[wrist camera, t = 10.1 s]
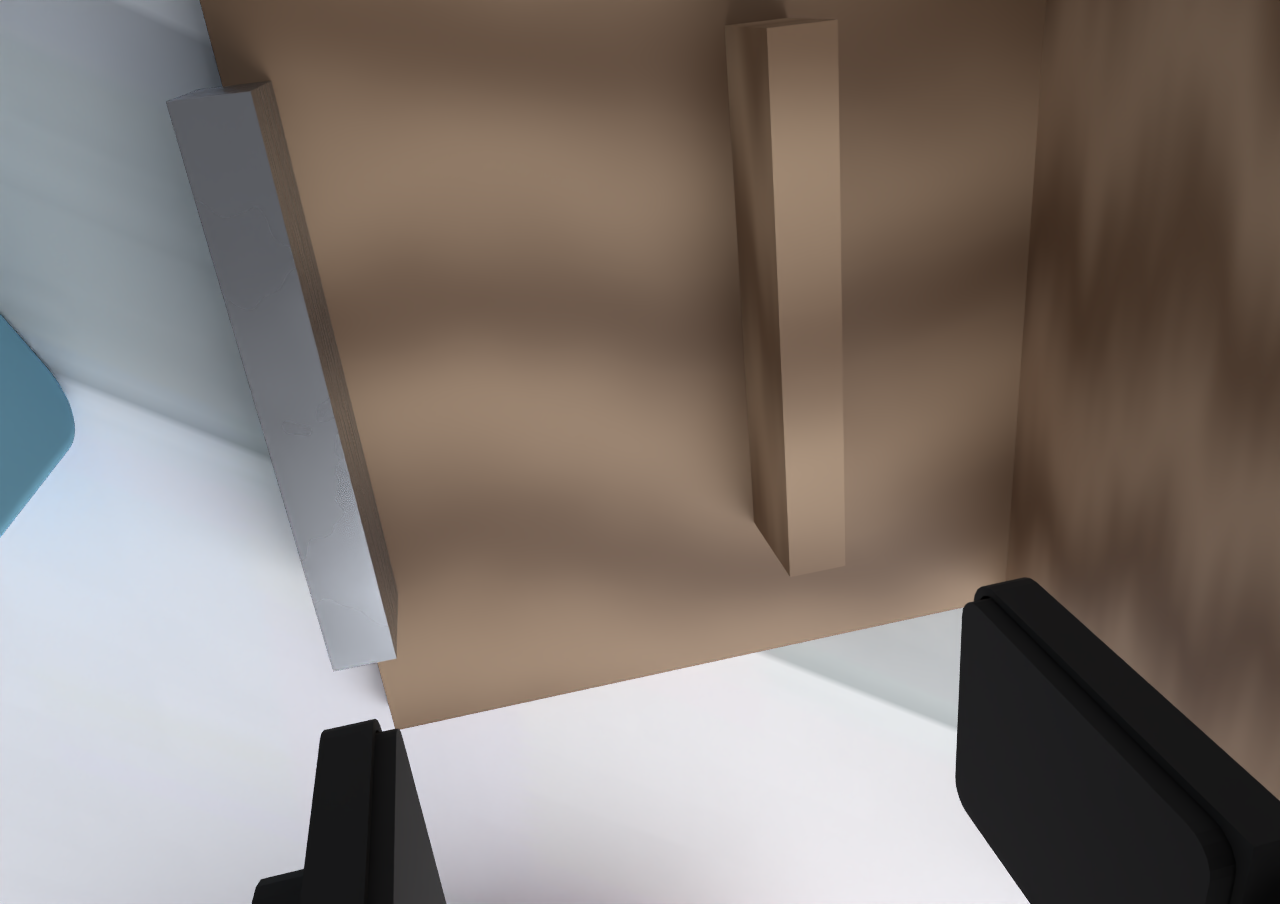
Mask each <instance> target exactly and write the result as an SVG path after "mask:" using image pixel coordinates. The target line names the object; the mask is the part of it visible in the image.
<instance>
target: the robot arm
mask: <svg viewBox="0 0 1280 904" xmlns="http://www.w3.org/2000/svg"><path fill="white" fill-rule="evenodd" d="M955 778H956V787H957V792H958V795H959V798H960V801H961V803H962V805H963V807H964V809H965V811H966V812H967V814H968V815H969V817H970V818H971V820H972V821H973V823H974V824H975V825H976V827H977V828H978V830H979V831H980V833H981V834H982V835H983V837H984V838H985V840H986V841H987V843H988V844H989V845H990V847H991V848H992V850H993V851H994V853H995V854H996V855H997V857H998V858H999V860H1000V861H1001V862H1002V864H1003V865H1004V867H1005V868H1006V870H1007V871H1008V872H1009V874H1010V875H1011V877H1012V878H1013V880H1014V881H1015V882H1016V884H1017V885H1018V887H1019V888H1020V890H1021V891H1022V892H1023V894H1024V895H1025V897H1026V898H1027V900H1028V901H1029V902H1030V904H1280V801H1279V800H1278V799H1277V798H1276V797H1275V796H1274V795H1273V794H1272V793H1271V792H1269V791H1268V790H1267V789H1266V788H1265V787H1264V786H1263V785H1262V784H1261V783H1259V782H1258V781H1257V780H1256V779H1255V778H1254V777H1253V776H1252V775H1251V774H1249V773H1248V772H1247V771H1246V770H1245V769H1244V768H1243V767H1242V766H1241V765H1239V764H1238V763H1237V762H1236V761H1235V760H1234V759H1233V758H1232V757H1231V756H1229V755H1228V754H1227V753H1226V752H1225V751H1224V750H1223V749H1222V748H1221V747H1219V746H1218V745H1217V744H1216V743H1215V742H1214V741H1213V740H1212V739H1211V738H1209V737H1208V736H1207V735H1206V734H1205V733H1204V732H1203V731H1202V730H1201V729H1199V728H1198V727H1197V726H1196V725H1195V724H1194V723H1193V722H1192V721H1191V720H1189V719H1188V718H1187V717H1186V716H1185V715H1184V714H1183V713H1182V712H1181V711H1179V710H1178V709H1177V708H1176V707H1175V706H1174V705H1173V704H1172V703H1171V702H1169V701H1168V700H1167V699H1166V698H1165V697H1164V696H1163V695H1162V694H1161V693H1159V692H1158V691H1157V690H1156V689H1155V688H1154V687H1153V686H1152V685H1151V684H1149V683H1148V682H1147V681H1146V680H1145V679H1144V678H1143V677H1142V676H1140V675H1139V674H1138V673H1137V672H1136V671H1135V670H1134V669H1133V668H1132V667H1130V666H1129V665H1128V664H1127V663H1126V662H1125V661H1124V660H1123V659H1122V658H1120V657H1119V656H1118V655H1117V654H1116V653H1115V652H1114V651H1113V650H1112V649H1110V648H1109V647H1108V646H1107V645H1106V644H1105V643H1104V642H1103V641H1102V640H1100V639H1099V638H1098V637H1097V636H1096V635H1095V634H1094V633H1093V632H1092V631H1090V630H1089V629H1088V628H1087V627H1086V626H1085V625H1084V624H1083V623H1082V622H1080V621H1079V620H1078V619H1077V618H1076V617H1075V616H1074V615H1073V614H1072V613H1070V612H1069V611H1068V610H1067V609H1066V608H1065V607H1064V606H1063V605H1062V604H1060V603H1059V602H1058V601H1057V600H1056V599H1055V598H1054V597H1053V596H1052V595H1050V594H1049V593H1048V592H1047V591H1046V590H1045V589H1044V588H1043V587H1042V586H1040V585H1039V584H1038V583H1037V582H1036V581H1034V580H1033V579H1031V578H1026V577H1023V578H1018V579H1014V580H1009V581H1005V582H1000V583H995V584H991V585H986V586H982V587H980V588H979V589H977V591H976V593H975V595H974V601H973V602H969V603H967V604H965V606H964V608H963V613H962V632H961V656H960V680H959V704H958V727H957V751H956V775H955ZM252 904H446V901H445V897H444V893H443V889H442V886H441V882H440V878H439V874H438V870H437V867H436V863H435V859H434V855H433V851H432V848H431V844H430V840H429V836H428V832H427V829H426V825H425V821H424V817H423V813H422V810H421V806H420V802H419V798H418V794H417V791H416V787H415V783H414V779H413V776H412V772H411V768H410V764H409V760H408V757H407V753H406V749H405V745H404V741H403V738H402V735H401V732H400V730H399V729H398V728H397V729H393V730H388V731H383V732H382V730H381V727H380V724H379V722H378V720H376V719H373V720H368V721H364V722H359V723H355V724H350V725H346V726H341V727H336V728H332V729H327V730H324V731H323V732H322V733H321V738H320V744H319V752H318V760H317V768H316V776H315V784H314V792H313V800H312V809H311V817H310V825H309V833H308V841H307V849H306V857H305V865H304V869H302V870H298V871H294V872H290V873H286V874H281V875H277V876H273V877H269V878H265V879H261V880H260V882H259V883H258V885H257V886H256V889H255V893H254V896H253V900H252Z"/></svg>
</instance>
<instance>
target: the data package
mask: <svg viewBox="0 0 1280 904" xmlns="http://www.w3.org/2000/svg"><path fill="white" fill-rule="evenodd" d="M74 434H75V423H74V418H73V414H72V410H71V407H70V405H69V402H68V400H67V398H66V396H65V394H64V392H63V390H62V388H61V387H60V385H59V384H58V382H57V380H56V379H55V378H54V376H53V375H52V373H51V372H50V371H49V370H48V368H47V367H46V366H45V365H44V364H43V363H42V361H41V360H40V359H39V358H38V357H37V356H36V354H35V353H34V352H33V351H32V350H31V349H30V348H29V346H28V345H27V344H26V343H25V342H24V341H23V340H22V338H21V337H20V336H19V335H18V334H17V333H16V332H15V330H14V329H13V328H12V327H11V326H10V325H9V324H8V322H7V321H6V320H5V319H4V318H3V317H2V316H1V314H0V537H1V536H2V535H3V533H4V532H5V531H6V529H7V528H8V527H9V526H10V524H11V523H12V522H13V520H14V519H15V518H16V517H17V515H18V514H19V513H20V511H21V510H22V509H23V508H24V506H25V505H26V504H27V503H28V501H29V500H30V499H31V497H32V496H33V495H34V494H35V492H36V491H37V490H38V488H39V487H40V486H41V485H42V483H43V482H44V481H45V479H46V478H47V477H48V476H49V474H50V473H51V472H52V470H53V469H54V468H55V467H56V465H57V464H58V463H59V461H60V460H61V459H62V458H63V456H64V455H65V454H66V452H67V451H68V450H69V448H70V447H71V445H72V443H73V439H74Z"/></svg>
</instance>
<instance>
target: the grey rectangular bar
mask: <svg viewBox="0 0 1280 904" xmlns="http://www.w3.org/2000/svg"><path fill="white" fill-rule="evenodd" d="M166 104H167V107H168V110H169V114H170V117H171V121H172V124H173V127H174V131H175V134H176V138H177V141H178V144H179V148H180V151H181V155H182V158H183V161H184V165H185V168H186V172H187V175H188V178H189V182H190V185H191V189H192V192H193V195H194V199H195V202H196V206H197V209H198V213H199V216H200V219H201V223H202V226H203V230H204V233H205V236H206V240H207V243H208V247H209V250H210V253H211V257H212V260H213V264H214V267H215V270H216V274H217V277H218V281H219V284H220V287H221V291H222V294H223V298H224V301H225V304H226V308H227V311H228V315H229V318H230V321H231V325H232V328H233V332H234V335H235V338H236V342H237V345H238V349H239V352H240V355H241V359H242V362H243V366H244V369H245V372H246V376H247V379H248V383H249V386H250V389H251V393H252V396H253V400H254V403H255V406H256V410H257V413H258V417H259V420H260V423H261V427H262V430H263V434H264V437H265V441H266V444H267V447H268V451H269V454H270V458H271V461H272V464H273V468H274V471H275V475H276V478H277V481H278V485H279V488H280V492H281V495H282V498H283V502H284V505H285V509H286V512H287V515H288V519H289V522H290V526H291V529H292V532H293V536H294V539H295V543H296V546H297V549H298V553H299V556H300V560H301V563H302V566H303V570H304V573H305V577H306V580H307V583H308V587H309V590H310V594H311V597H312V600H313V604H314V607H315V611H316V614H317V617H318V621H319V624H320V628H321V631H322V634H323V638H324V641H325V645H326V648H327V651H328V655H329V658H330V662H331V665H332V669H333V672H334V671H339V670H343V669H348V668H353V667H358V666H363V665H368V664H372V663H377V662H382V661H387V660H392V659H397V623H398V589H397V585H396V581H395V577H394V573H393V569H392V565H391V561H390V557H389V553H388V549H387V545H386V541H385V537H384V533H383V529H382V525H381V521H380V517H379V513H378V509H377V505H376V500H375V496H374V492H373V488H372V484H371V480H370V476H369V472H368V468H367V464H366V460H365V456H364V452H363V448H362V444H361V440H360V436H359V432H358V428H357V424H356V420H355V416H354V412H353V408H352V404H351V400H350V396H349V391H348V387H347V383H346V379H345V375H344V371H343V367H342V363H341V359H340V355H339V351H338V347H337V343H336V339H335V335H334V331H333V327H332V323H331V319H330V315H329V311H328V307H327V303H326V299H325V295H324V291H323V287H322V283H321V278H320V274H319V270H318V266H317V262H316V258H315V254H314V250H313V246H312V242H311V238H310V234H309V230H308V226H307V222H306V218H305V214H304V210H303V206H302V202H301V198H300V194H299V190H298V186H297V182H296V178H295V174H294V169H293V165H292V161H291V157H290V153H289V149H288V145H287V141H286V137H285V133H284V129H283V125H282V121H281V117H280V113H279V109H278V105H277V101H276V97H275V93H274V89H273V85H272V81H264V82H255V83H247V84H239V85H231V86H222V87H214V88H206V89H198V90H195V91H193V92H190V93H188V94H185V95H182V96H180V97H177V98H174V99H172V100H169V101H167V102H166Z"/></svg>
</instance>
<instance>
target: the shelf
mask: <svg viewBox="0 0 1280 904" xmlns="http://www.w3.org/2000/svg"><path fill="white" fill-rule="evenodd" d="M200 4H201V7H202V11H203V15H204V19H205V22H206V26H207V30H208V33H209V37H210V41H211V45H212V48H213V52H214V56H215V60H216V63H217V67H218V71H219V74H220V78H221V82H222V86H231V85H239V84H247V83H255V82H264V81H272V85H273V89H274V93H275V97H276V101H277V105H278V109H279V113H280V117H281V121H282V125H283V129H284V133H285V137H286V141H287V145H288V149H289V153H290V157H291V161H292V165H293V169H294V174H295V178H296V182H297V186H298V190H299V194H300V198H301V202H302V206H303V210H304V214H305V218H306V222H307V226H308V230H309V234H310V238H311V242H312V246H313V250H314V254H315V258H316V262H317V266H318V270H319V274H320V278H321V283H322V287H323V291H324V295H325V299H326V303H327V307H328V311H329V315H330V319H331V323H332V327H333V331H334V335H335V339H336V343H337V347H338V351H339V355H340V359H341V363H342V367H343V371H344V375H345V379H346V383H347V387H348V391H349V396H350V400H351V404H352V408H353V412H354V416H355V420H356V424H357V428H358V432H359V436H360V440H361V444H362V448H363V452H364V456H365V460H366V464H367V468H368V472H369V476H370V480H371V484H372V488H373V492H374V496H375V500H376V505H377V509H378V513H379V517H380V521H381V525H382V529H383V533H384V537H385V541H386V545H387V549H388V553H389V557H390V561H391V565H392V569H393V573H394V577H395V581H396V585H397V589H398V623H397V659H392V660H387V661H382V662H377V663H378V667H379V670H380V674H381V678H382V681H383V685H384V689H385V693H386V696H387V700H388V704H389V708H390V711H391V715H392V719H393V722H394V726H395V729H397V728H398V729H399V730H400V729H405V728H409V727H414V726H418V725H423V724H428V723H432V722H437V721H442V720H446V719H451V718H455V717H460V716H465V715H469V714H474V713H478V712H483V711H488V710H492V709H497V708H501V707H506V706H511V705H515V704H520V703H525V702H529V701H534V700H538V699H543V698H548V697H552V696H557V695H561V694H566V693H571V692H575V691H580V690H584V689H589V688H594V687H598V686H603V685H607V684H612V683H617V682H621V681H626V680H631V679H635V678H640V677H644V676H649V675H654V674H658V673H663V672H667V671H672V670H677V669H681V668H686V667H690V666H695V665H700V664H704V663H709V662H713V661H718V660H723V659H727V658H732V657H737V656H741V655H746V654H750V653H755V652H760V651H764V650H769V649H773V648H778V647H783V646H787V645H792V644H796V643H801V642H806V641H810V640H815V639H819V638H824V637H829V636H833V635H838V634H843V633H847V632H852V631H856V630H861V629H866V628H870V627H875V626H879V625H884V624H889V623H893V622H898V621H902V620H907V619H912V618H916V617H921V616H925V615H930V614H935V613H939V612H944V611H949V610H953V609H958V608H962V607H964V606H965V604H967V603H969V602H973V601H974V595H975V593H976V591H977V589H979V588H980V587H982V586H986V585H991V584H995V583H1000V582H1005V581H1009V580H1014V579H1018V578H1023V577H1026V578H1031V579H1033V580H1034V581H1036V582H1037V583H1038V584H1039V585H1040V586H1042V587H1043V588H1044V589H1045V590H1046V591H1047V592H1048V593H1049V594H1050V595H1052V596H1053V597H1054V598H1055V599H1056V600H1057V601H1058V602H1059V603H1060V604H1062V605H1063V606H1064V607H1065V608H1066V609H1067V610H1068V611H1069V612H1070V613H1072V614H1073V615H1074V616H1075V617H1076V618H1077V619H1078V620H1079V621H1080V622H1082V623H1083V624H1084V625H1085V626H1086V627H1087V628H1088V629H1089V630H1090V631H1092V632H1093V633H1094V634H1095V635H1096V636H1097V637H1098V638H1099V639H1100V640H1102V641H1103V642H1104V643H1105V644H1106V645H1107V646H1108V647H1109V648H1110V649H1112V650H1113V651H1114V652H1115V653H1116V654H1117V655H1118V656H1119V657H1120V658H1122V659H1123V660H1124V661H1125V662H1126V663H1127V664H1128V665H1129V666H1130V667H1132V668H1133V669H1134V670H1135V671H1136V672H1137V673H1138V674H1139V675H1140V676H1142V677H1143V678H1144V679H1145V680H1146V681H1147V682H1148V683H1149V684H1151V685H1152V686H1153V687H1154V688H1155V689H1156V690H1157V691H1158V692H1159V693H1161V694H1162V695H1163V696H1164V697H1165V698H1166V699H1167V700H1168V701H1169V702H1171V703H1172V704H1173V705H1174V706H1175V707H1176V708H1177V709H1178V710H1179V711H1181V712H1182V713H1183V714H1184V715H1185V716H1186V717H1187V718H1188V719H1189V720H1191V721H1192V722H1193V723H1194V724H1195V725H1196V726H1197V727H1198V728H1199V729H1201V730H1202V731H1203V732H1204V733H1205V734H1206V735H1207V736H1208V737H1209V738H1211V739H1212V740H1213V741H1214V742H1215V743H1216V744H1217V745H1218V746H1219V747H1221V748H1222V749H1223V750H1224V751H1225V752H1226V753H1227V754H1228V755H1229V756H1231V757H1232V758H1233V759H1234V760H1235V761H1236V762H1237V763H1238V764H1239V765H1241V766H1242V767H1243V768H1244V769H1245V770H1246V771H1247V772H1248V773H1249V774H1251V775H1252V776H1253V777H1254V778H1255V779H1256V780H1257V781H1258V782H1259V783H1261V784H1262V785H1263V786H1264V787H1265V788H1266V789H1267V790H1268V791H1269V792H1271V793H1272V794H1273V795H1274V796H1275V797H1276V798H1277V799H1278V800H1279V801H1280V0H200Z"/></svg>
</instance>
